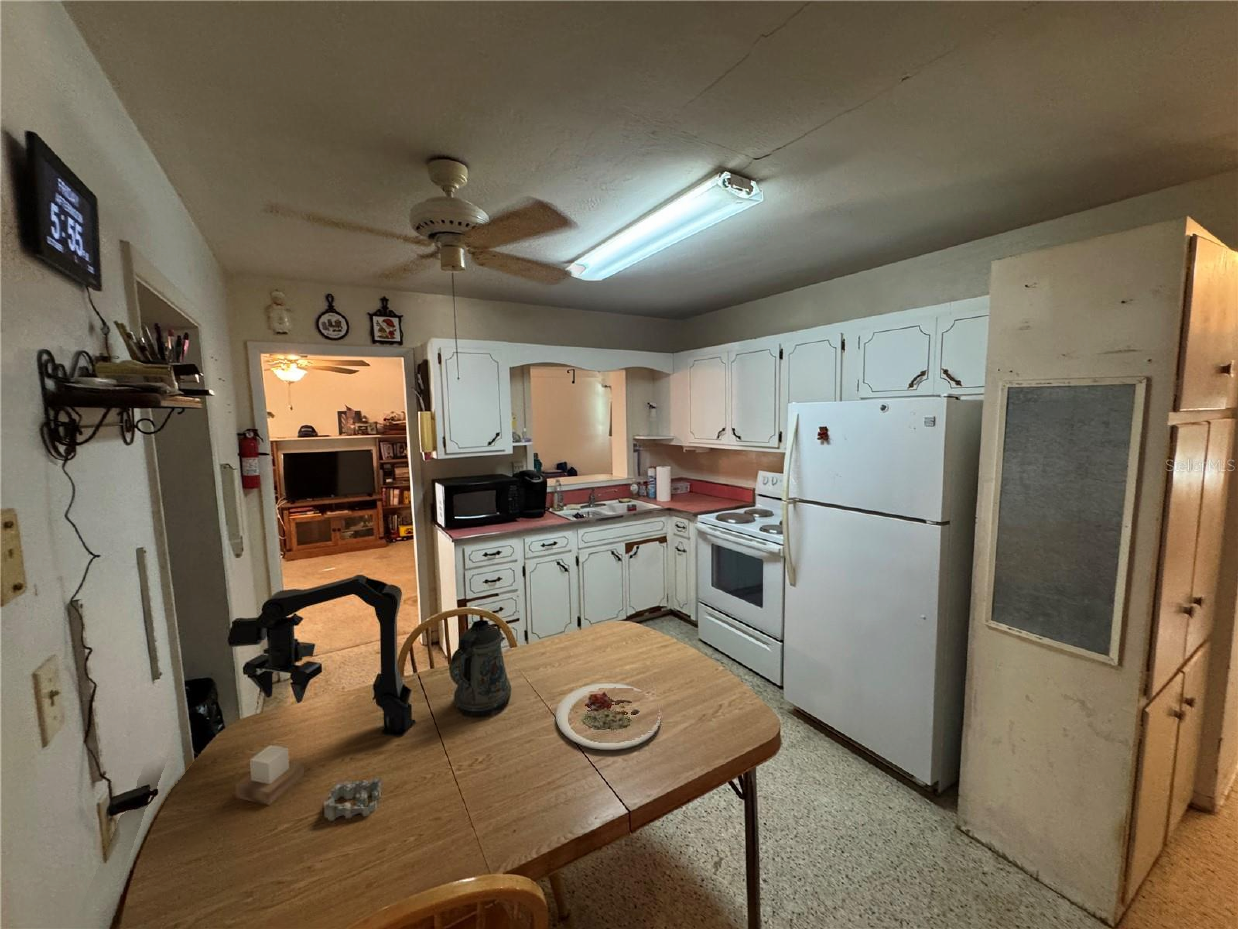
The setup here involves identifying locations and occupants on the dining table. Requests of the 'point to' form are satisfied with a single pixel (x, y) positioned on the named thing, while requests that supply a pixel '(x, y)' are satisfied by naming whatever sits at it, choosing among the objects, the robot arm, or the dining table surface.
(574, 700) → the plated food
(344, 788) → the egg carton
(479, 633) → the beer stein
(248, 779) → the walnut base
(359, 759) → the dining table surface
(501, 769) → the dining table surface
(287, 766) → the cream block
